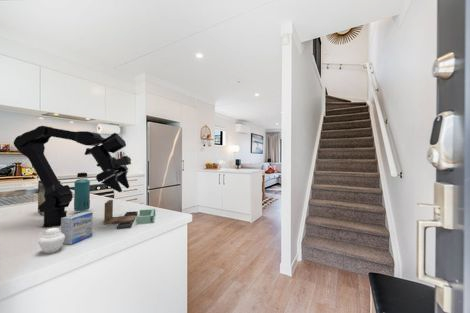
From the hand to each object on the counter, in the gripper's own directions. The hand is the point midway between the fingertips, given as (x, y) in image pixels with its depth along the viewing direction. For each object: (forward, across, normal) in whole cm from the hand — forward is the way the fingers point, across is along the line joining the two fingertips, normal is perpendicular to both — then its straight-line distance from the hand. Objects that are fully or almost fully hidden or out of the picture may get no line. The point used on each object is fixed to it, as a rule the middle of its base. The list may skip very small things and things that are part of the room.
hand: (124, 189), depth 88 cm
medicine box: (+7, -16, +16) cm, 24 cm away
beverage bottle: (-1, +19, +30) cm, 36 cm away
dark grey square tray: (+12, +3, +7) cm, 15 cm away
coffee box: (-9, +20, +42) cm, 48 cm away
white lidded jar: (+5, -24, +18) cm, 31 cm away
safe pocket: (+16, +4, +1) cm, 17 cm away
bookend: (+11, +3, +10) cm, 15 cm away
